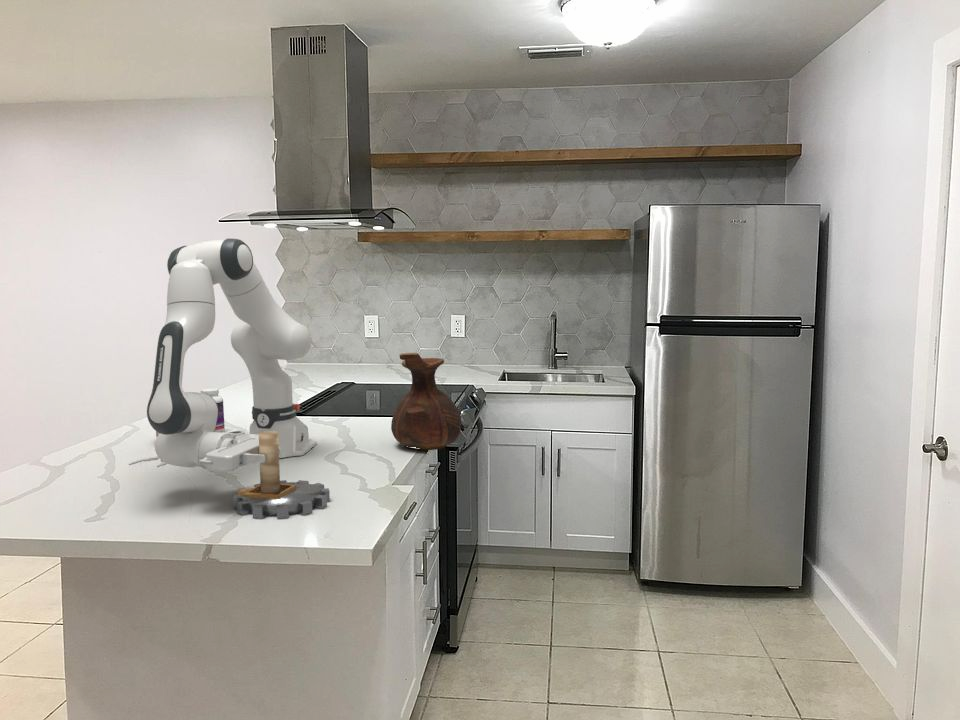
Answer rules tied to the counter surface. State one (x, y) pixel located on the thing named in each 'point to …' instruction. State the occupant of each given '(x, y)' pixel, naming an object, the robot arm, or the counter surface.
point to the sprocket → (282, 500)
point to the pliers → (149, 460)
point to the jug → (425, 408)
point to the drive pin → (269, 462)
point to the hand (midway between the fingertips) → (272, 455)
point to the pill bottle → (219, 400)
